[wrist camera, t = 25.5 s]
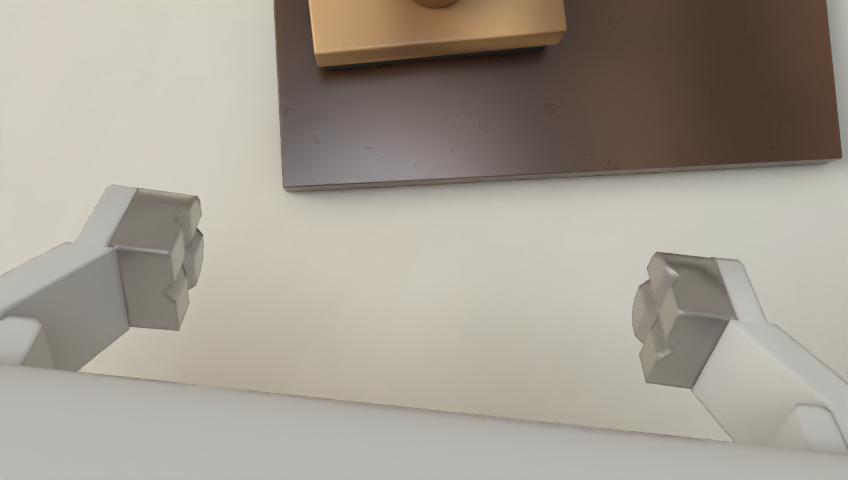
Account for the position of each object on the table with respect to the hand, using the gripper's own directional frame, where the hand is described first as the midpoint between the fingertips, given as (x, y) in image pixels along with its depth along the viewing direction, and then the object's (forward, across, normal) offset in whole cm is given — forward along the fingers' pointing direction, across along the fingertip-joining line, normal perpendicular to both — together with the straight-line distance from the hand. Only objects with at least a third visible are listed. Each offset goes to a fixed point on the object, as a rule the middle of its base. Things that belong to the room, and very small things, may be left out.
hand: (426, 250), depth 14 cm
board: (+20, -5, +4) cm, 21 cm away
